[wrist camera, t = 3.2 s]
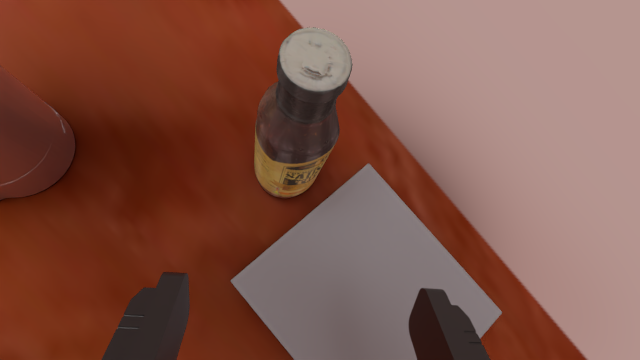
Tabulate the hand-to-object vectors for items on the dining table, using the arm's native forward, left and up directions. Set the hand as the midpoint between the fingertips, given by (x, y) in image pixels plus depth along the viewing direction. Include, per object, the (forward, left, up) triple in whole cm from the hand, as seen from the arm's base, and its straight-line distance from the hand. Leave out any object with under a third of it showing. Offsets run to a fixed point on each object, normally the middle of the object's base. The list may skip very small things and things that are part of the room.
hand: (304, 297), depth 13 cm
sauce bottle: (+8, +8, -24) cm, 27 cm away
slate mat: (+6, -7, -24) cm, 25 cm away
